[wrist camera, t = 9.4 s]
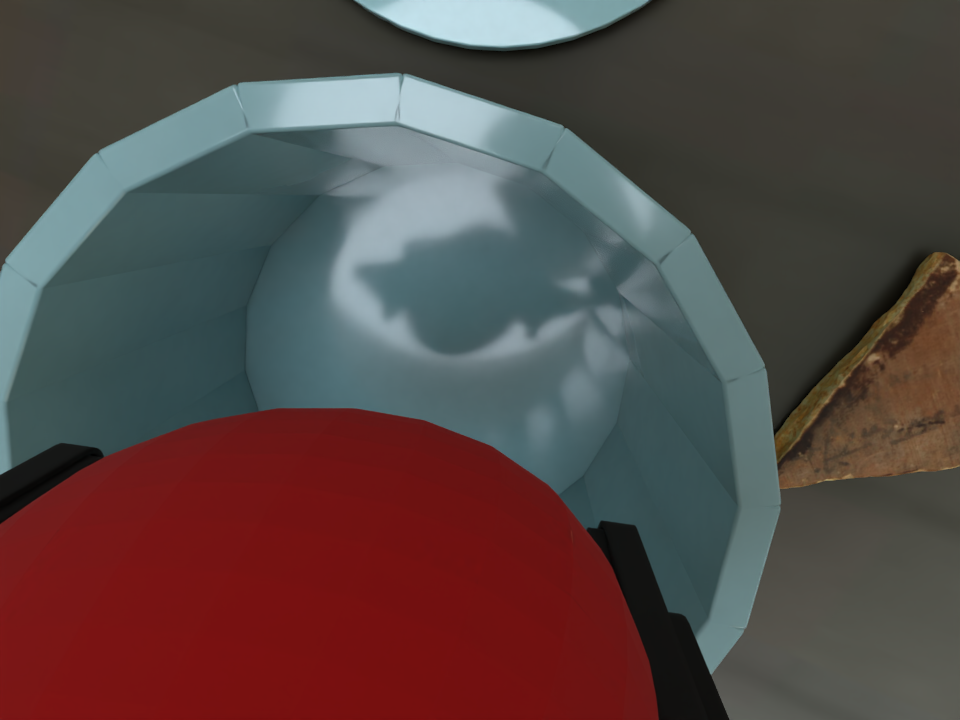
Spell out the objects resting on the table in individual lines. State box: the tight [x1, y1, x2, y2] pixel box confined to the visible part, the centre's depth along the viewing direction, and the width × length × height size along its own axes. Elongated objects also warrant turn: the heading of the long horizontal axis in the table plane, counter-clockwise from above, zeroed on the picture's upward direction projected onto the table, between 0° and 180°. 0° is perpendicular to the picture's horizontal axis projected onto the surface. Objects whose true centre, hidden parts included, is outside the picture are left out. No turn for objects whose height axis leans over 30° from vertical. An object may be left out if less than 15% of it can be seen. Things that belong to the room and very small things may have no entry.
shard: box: [774, 252, 960, 489], centre depth 21 cm, size 11×8×2 cm
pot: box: [0, 73, 781, 674], centre depth 17 cm, size 16×16×12 cm
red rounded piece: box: [0, 408, 659, 720], centre depth 8 cm, size 9×7×10 cm
